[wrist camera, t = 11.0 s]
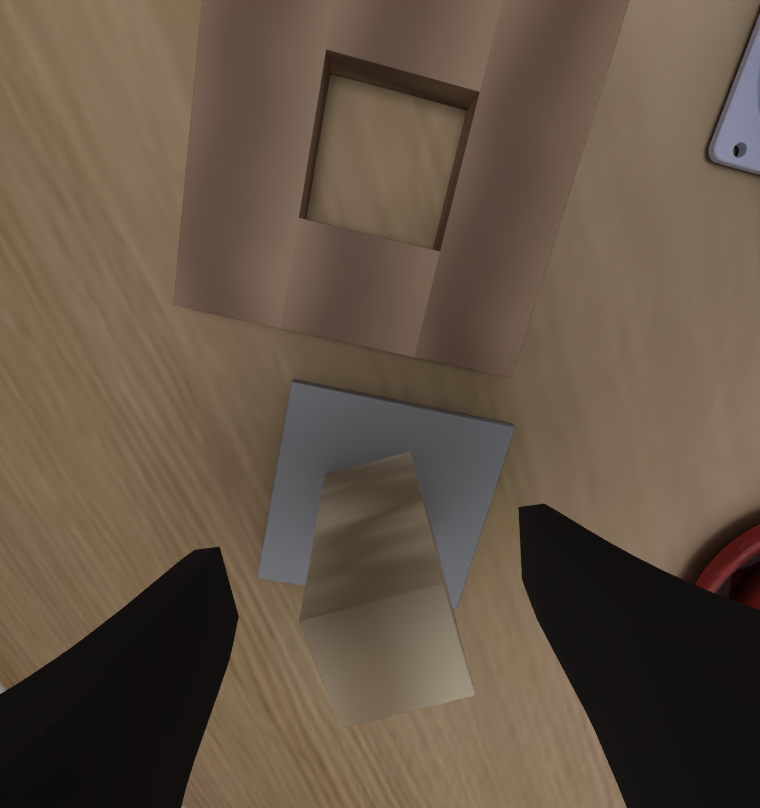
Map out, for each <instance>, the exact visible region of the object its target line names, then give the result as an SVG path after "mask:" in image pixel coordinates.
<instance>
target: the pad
mask: <svg viewBox="0 0 760 808" xmlns="http://www.w3.org/2000/svg"><path fill="white" fill-rule="evenodd" d="M514 430H515V427H514V426H513V425H512V424H509V423H505V422H500V421H495V420H490V419H485V418H480V417H475V416H471V415H466V414H461V413H456V412H451V411H446V410H441V409H436V408H432V407H427V406H422V405H417V404H412V403H407V402H402V401H398V400H393V399H388V398H383V397H378V396H373V395H368V394H363V393H359V392H354V391H349V390H344V389H339V388H334V387H329V386H325V385H320V384H315V383H310V382H305V381H300V380H295V379H293V381H292V384H291V390H290V395H289V401H288V407H287V412H286V418H285V424H284V430H283V435H282V441H281V447H280V453H279V458H278V464H277V470H276V475H275V481H274V487H273V493H272V498H271V504H270V510H269V515H268V521H267V527H266V533H265V538H264V544H263V550H262V556H261V561H260V567H259V573H258V578H261V579H268V580H274V581H280V582H286V583H292V584H298V585H304V586H305V585H306V580H307V574H308V568H309V563H310V557H311V551H312V546H313V540H314V535H315V529H316V523H317V518H318V512H319V506H320V501H321V495H322V489H323V484H324V478H325V475H326V474H329V473H333V472H337V471H340V470H344V469H348V468H351V467H355V466H359V465H362V464H366V463H370V462H373V461H377V460H381V459H384V458H388V457H392V456H395V455H399V454H403V453H406V452H410V451H411V455H412V459H413V462H414V466H415V469H416V473H417V476H418V480H419V483H420V487H421V490H422V494H423V497H424V501H425V505H426V508H427V512H428V515H429V519H430V522H431V526H432V530H433V533H434V537H435V541H436V545H437V549H438V553H439V557H440V561H441V565H442V568H443V572H444V576H445V580H446V584H447V588H448V592H449V596H450V600H451V603H452V607H453V610H456V608H457V605H458V602H459V599H460V596H461V593H462V590H463V587H464V584H465V581H466V578H467V574H468V571H469V568H470V565H471V562H472V559H473V556H474V553H475V550H476V547H477V544H478V541H479V537H480V534H481V531H482V528H483V525H484V522H485V519H486V516H487V513H488V510H489V507H490V504H491V501H492V497H493V494H494V491H495V488H496V485H497V482H498V479H499V476H500V473H501V470H502V467H503V464H504V461H505V457H506V454H507V451H508V448H509V445H510V442H511V439H512V436H513V433H514Z"/></svg>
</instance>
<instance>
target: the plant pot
mask: <svg viewBox="0 0 760 808" xmlns="http://www.w3.org/2000/svg"><path fill="white" fill-rule="evenodd" d="M695 585H697V586H699V587H701V588H703V589H706V590H708V591H711V592H713V593H716V594H718V595H721V596H723V597H726V598H728V599H731V600H734V601H736V602H739V603H742V604H745V605H748V606H751V607H753V608H756V609H759V610H760V524H759V525H757V526H755V527H753V528H752V529H750V530H748V531H746V532H745V533H743V534H742V535H740V536H739V537H738V538H736V539H735V540H733V541H732V542H731V543H729V544H728V545H727V546H726V547H725V548H724V549H723V550H722V551H721V552H719V553H718V554H717V555H716V556H715V558H714V559H713V560H712V561H711V562H710V563H709V564H708V566H707V567H706V568H705V570H704V571H703V572H702V574H701V575H700V577H699V578H698V580H697V582H696V584H695Z"/></svg>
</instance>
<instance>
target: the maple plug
mask: <svg viewBox="0 0 760 808" xmlns="http://www.w3.org/2000/svg"><path fill="white" fill-rule="evenodd" d="M299 622H300V625H301V627H302V630H303V632H304V634H305V637H306V639H307V642H308V644H309V647H310V649H311V651H312V654H313V656H314V659H315V661H316V664H317V666H318V669H319V671H320V673H321V676H322V678H323V681H324V683H325V686H326V688H327V691H328V693H329V695H330V698H331V700H332V703H333V705H334V708H335V710H336V713H337V715H338V717H339V720H340V722H341V725H342V727H343V728H344V727H348V726H352V725H356V724H360V723H365V722H369V721H373V720H377V719H381V718H385V717H389V716H393V715H397V714H401V713H405V712H409V711H413V710H418V709H422V708H426V707H430V706H434V705H438V704H442V703H446V702H450V701H454V700H458V699H462V698H467V697H471V696H475V693H474V689H473V685H472V681H471V677H470V673H469V669H468V666H467V662H466V658H465V654H464V650H463V646H462V642H461V638H460V635H459V631H458V627H457V623H456V619H455V615H454V611H453V607H452V603H451V600H450V596H449V592H448V588H447V584H446V580H445V576H444V572H443V568H442V565H441V561H440V557H439V553H438V549H437V545H436V541H435V537H434V533H433V530H432V526H431V522H430V519H429V515H428V512H427V508H426V505H425V501H424V497H423V494H422V490H421V487H420V483H419V480H418V476H417V473H416V469H415V466H414V462H413V459H412V455H411V451H410V452H406V453H403V454H399V455H395V456H392V457H388V458H384V459H381V460H377V461H373V462H370V463H366V464H362V465H359V466H355V467H351V468H348V469H344V470H340V471H337V472H333V473H329V474H326V475H325V478H324V484H323V489H322V495H321V501H320V506H319V512H318V518H317V523H316V529H315V535H314V540H313V546H312V551H311V557H310V563H309V568H308V574H307V580H306V585H305V591H304V597H303V602H302V608H301V614H300V619H299Z"/></svg>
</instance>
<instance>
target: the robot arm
mask: <svg viewBox="0 0 760 808" xmlns="http://www.w3.org/2000/svg"><path fill="white" fill-rule="evenodd" d="M735 145H736V146H738V149H739V153H738V155H737V157H735V156H734V154H733V149H734V147H735ZM708 152H709V157H710V159H711V160H712V161H713V162H715V163H718V164H722V165H725V166H729V167H733V168H736V169H740V170H744V171H747V172H751V173H754V174H758V175H760V14H759V17H758V20H757V22H756V25H755V28H754V30H753V33H752V35H751V38H750V41H749V43H748V46H747V48H746V51H745V54H744V56H743V59H742V62H741V64H740V67H739V69H738V72H737V75H736V77H735V80H734V83H733V85H732V88H731V90H730V93H729V96H728V98H727V101H726V104H725V106H724V109H723V111H722V114H721V117H720V119H719V122H718V125H717V127H716V130H715V132H714V135H713V138H712V140H711V143H710V146H709V150H708ZM519 526H520V547H521V568H522V580H523V583H524V586H525V589H526V591H527V594H528V597H529V600H530V602H531V605H532V607H533V610H534V612H535V615H536V618H537V620H538V622H539V624H540V626H541V628H542V630H543V631H544V633H545V635H546V637H547V639H548V641H549V643H550V645H551V647H552V649H553V651H554V653H555V654H556V656H557V658H558V660H559V662H560V664H561V666H562V668H563V670H564V671H565V673H566V675H567V677H568V679H569V681H570V683H571V685H572V687H573V688H574V690H575V692H576V694H577V696H578V698H579V700H580V702H581V704H582V706H583V707H584V709H585V711H586V713H587V715H588V717H589V720H590V722H591V724H592V726H593V728H594V730H595V732H596V734H597V737H598V739H599V741H600V744H601V746H602V748H603V751H604V753H605V756H606V758H607V760H608V763H609V765H610V768H611V770H612V772H613V775H614V777H615V780H616V782H617V784H618V787H619V789H620V792H621V794H622V797H623V799H624V802H625V804H626V807H627V808H760V610H759V609H756V608H753V607H751V606H748V605H745V604H742V603H739V602H736V601H734V600H731V599H728V598H726V597H723V596H721V595H718V594H716V593H713V592H711V591H708V590H706V589H703V588H701V587H699V586H697V585H694V584H692V583H690V582H687V581H685V580H683V579H680V578H678V577H676V576H673V575H671V574H669V573H667V572H665V571H663V570H661V569H659V568H657V567H655V566H653V565H651V564H649V563H647V562H645V561H643V560H641V559H639V558H637V557H635V556H633V555H631V554H629V553H628V552H626V551H624V550H622V549H620V548H618V547H617V546H615V545H613V544H611V543H610V542H608V541H606V540H604V539H603V538H601V537H599V536H598V535H596V534H594V533H592V532H591V531H589V530H587V529H586V528H584V527H583V526H581V525H579V524H578V523H576V522H574V521H573V520H571V519H569V518H568V517H566V516H565V515H563V514H561V513H560V512H558V511H556V510H555V509H553V508H551V507H549V506H548V505H546V504H538V505H531V506H523V507H519ZM238 617H239V616H238V613H237V609H236V605H235V602H234V598H233V594H232V590H231V587H230V583H229V579H228V576H227V572H226V568H225V565H224V561H223V557H222V554H221V550H220V547H214V548H206V549H199V550H194V551H193V552H191V553H190V554H188V555H187V556H186V557H184V558H183V559H182V560H180V561H179V562H178V563H177V564H175V565H174V566H173V567H172V568H171V569H169V570H168V571H167V572H166V573H165V574H163V575H162V576H161V577H160V578H159V579H157V580H156V581H155V582H154V583H153V584H151V585H150V586H149V587H148V588H147V589H145V590H144V591H143V592H142V593H141V594H139V595H138V596H137V597H136V598H134V599H133V600H132V601H131V602H130V603H128V604H127V605H126V606H125V607H124V608H122V609H121V610H120V611H118V612H117V613H116V614H115V615H113V616H112V617H111V618H109V619H108V620H107V621H106V622H104V623H103V624H102V625H100V626H99V627H98V628H97V629H95V630H94V631H93V632H91V633H90V634H89V635H87V636H86V637H85V638H84V639H82V640H81V641H80V642H78V643H77V644H75V645H74V646H73V647H71V648H70V649H69V650H67V651H66V652H64V653H63V654H61V655H60V656H59V657H57V658H56V659H54V660H53V661H51V662H50V663H48V664H47V665H45V666H44V667H42V668H41V669H39V670H38V671H36V672H35V673H33V674H32V675H30V676H29V677H27V678H26V679H24V680H23V681H21V682H20V683H18V684H16V685H15V686H13V687H11V688H10V689H8V690H6V691H5V692H3V693H1V694H0V808H181V806H182V802H183V798H184V794H185V790H186V786H187V783H188V780H189V776H190V773H191V770H192V767H193V763H194V760H195V757H196V755H197V752H198V749H199V746H200V743H201V740H202V737H203V735H204V732H205V729H206V726H207V723H208V720H209V718H210V715H211V712H212V709H213V706H214V703H215V700H216V698H217V695H218V692H219V689H220V686H221V683H222V680H223V677H224V674H225V671H226V668H227V665H228V662H229V659H230V655H231V651H232V646H233V642H234V637H235V632H236V627H237V622H238Z"/></svg>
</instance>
